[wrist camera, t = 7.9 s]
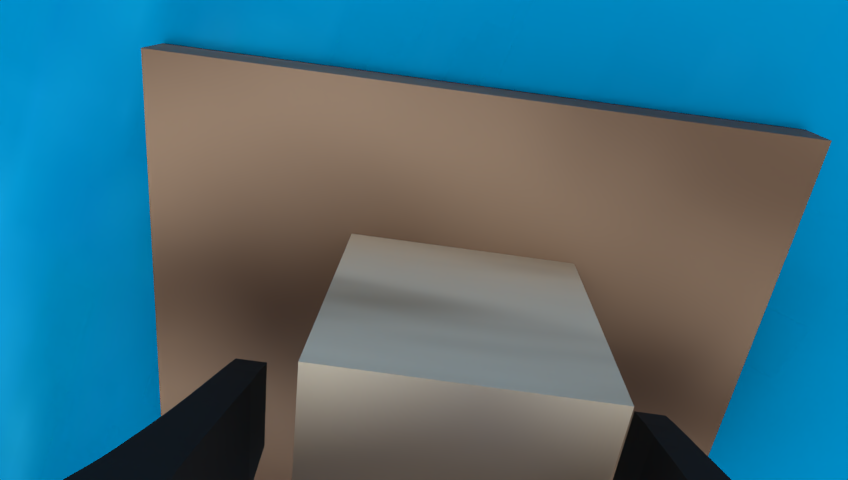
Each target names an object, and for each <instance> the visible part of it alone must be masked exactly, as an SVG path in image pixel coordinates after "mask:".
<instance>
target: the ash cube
mask: <svg viewBox="0 0 848 480" xmlns="http://www.w3.org/2000/svg"><path fill="white" fill-rule="evenodd" d="M633 409H634V405H633V402H632V400H631V398H630V395H629V393H628V391H627V388H626V386H625V383H624V381H623V379H622V376H621V374H620V371H619V369H618V367H617V364H616V362H615V360H614V357H613V355H612V352H611V350H610V348H609V345H608V343H607V341H606V338H605V336H604V333H603V331H602V329H601V326H600V324H599V322H598V319H597V317H596V314H595V312H594V310H593V307H592V305H591V302H590V300H589V298H588V295H587V293H586V291H585V288H584V286H583V283H582V281H581V279H580V276H579V274H578V272H577V269H576V267H575V264H573V263H566V262H558V261H551V260H543V259H536V258H528V257H521V256H514V255H506V254H499V253H491V252H484V251H476V250H469V249H462V248H454V247H447V246H439V245H432V244H424V243H417V242H410V241H402V240H395V239H387V238H380V237H373V236H365V235H358V234H351V237H350V239H349V241H348V244H347V246H346V248H345V251H344V253H343V256H342V258H341V260H340V263H339V265H338V268H337V270H336V272H335V275H334V277H333V280H332V282H331V284H330V287H329V289H328V292H327V294H326V296H325V299H324V301H323V304H322V306H321V308H320V311H319V313H318V316H317V318H316V320H315V323H314V325H313V328H312V330H311V332H310V335H309V337H308V340H307V342H306V344H305V347H304V349H303V352H302V354H301V356H300V359H299V361H298V377H297V395H296V414H295V433H294V452H293V470H292V480H611V478H612V475H613V471H614V468H615V465H616V462H617V459H618V456H619V453H620V450H621V446H622V443H623V440H624V437H625V434H626V431H627V428H628V425H629V421H630V418H631V415H632V412H633Z"/></svg>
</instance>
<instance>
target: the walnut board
mask: <svg viewBox="0 0 848 480" xmlns="http://www.w3.org/2000/svg"><path fill="white" fill-rule="evenodd" d="M141 53H142V72H143V90H144V109H145V127H146V145H147V164H148V182H149V200H150V219H151V237H152V255H153V274H154V292H155V310H156V329H157V347H158V366H159V384H160V402H161V416H162V415H164V414H165V413H166V412H168V411H169V410H170V409H172V408H173V407H174V406H176V405H177V404H178V403H180V402H181V401H182V400H184V399H185V398H186V397H187V396H189V395H190V394H191V393H192V392H194V391H195V390H196V389H197V388H199V387H200V386H201V385H203V384H204V383H205V382H206V381H207V380H209V379H210V378H211V377H212V376H214V375H215V374H216V373H217V372H219V371H220V370H221V369H222V368H224V367H225V366H226V365H228V364H229V363H230V362H232V361H233V360H234V359H236V358H237V359H244V360H252V361H259V362H267V376H266V412H265V446H264V449H263V452H262V455H261V458H260V461H259V465H258V468H257V471H256V474H255V477H254V480H292V470H293V452H294V433H295V414H296V395H297V377H298V361H299V359H300V356H301V354H302V352H303V349H304V347H305V344H306V342H307V340H308V337H309V335H310V332H311V330H312V328H313V325H314V323H315V320H316V318H317V316H318V313H319V311H320V308H321V306H322V304H323V301H324V299H325V296H326V294H327V292H328V289H329V287H330V284H331V282H332V280H333V277H334V275H335V272H336V270H337V268H338V265H339V263H340V260H341V258H342V256H343V253H344V251H345V248H346V246H347V244H348V241H349V239H350V237H351V234H358V235H365V236H373V237H380V238H387V239H395V240H402V241H410V242H417V243H424V244H432V245H439V246H447V247H454V248H462V249H469V250H476V251H484V252H491V253H499V254H506V255H514V256H521V257H528V258H536V259H543V260H551V261H558V262H566V263H573V264H575V267H576V269H577V272H578V274H579V276H580V279H581V281H582V283H583V286H584V288H585V291H586V293H587V295H588V298H589V300H590V302H591V305H592V307H593V310H594V312H595V314H596V317H597V319H598V322H599V324H600V326H601V329H602V331H603V333H604V336H605V338H606V341H607V343H608V345H609V348H610V350H611V352H612V355H613V357H614V360H615V362H616V364H617V367H618V369H619V371H620V374H621V376H622V379H623V381H624V383H625V386H626V388H627V391H628V393H629V395H630V398H631V400H632V402H633V405H634V409H633V412H632V415H631V418H630V421H629V425H628V428H627V431H626V434H625V437H624V440H623V443H622V446H621V450H620V453H619V456H618V459H617V462H616V465H615V468H614V471H613V475H612V478H611V480H613V477H614V474H615V471H616V468H617V464H618V461H619V458H620V455H621V452H622V449H623V446H624V443H625V439H626V436H627V433H628V430H629V427H630V424H631V421H632V418H633V414H634V411H636V412H643V413H651V414H658V415H666V416H667V417H668V418H669V419H670V420H671V421H672V422H673V423H675V424H676V425H677V426H678V427H679V428H680V429H681V430H682V431H683V432H684V433H685V434H686V435H687V436H688V437H689V438H690V439H691V440H692V441H693V442H694V443H695V444H696V445H697V446H698V447H699V448H700V449H701V450H702V451H703V452H704V453H705V454H706V455H707V456H708V455H709V452H710V450H711V447H712V445H713V442H714V439H715V437H716V434H717V432H718V429H719V427H720V424H721V422H722V419H723V416H724V414H725V411H726V409H727V406H728V404H729V401H730V399H731V396H732V393H733V391H734V388H735V386H736V383H737V381H738V378H739V376H740V373H741V371H742V368H743V365H744V363H745V360H746V358H747V355H748V353H749V350H750V348H751V345H752V342H753V340H754V337H755V335H756V332H757V330H758V327H759V325H760V322H761V320H762V317H763V314H764V312H765V309H766V307H767V304H768V302H769V299H770V297H771V294H772V291H773V289H774V286H775V284H776V281H777V279H778V276H779V274H780V271H781V268H782V266H783V263H784V261H785V258H786V256H787V253H788V251H789V248H790V246H791V243H792V240H793V238H794V235H795V233H796V230H797V228H798V225H799V223H800V220H801V217H802V215H803V212H804V210H805V207H806V205H807V202H808V200H809V197H810V195H811V192H812V189H813V187H814V184H815V182H816V179H817V177H818V174H819V172H820V169H821V166H822V164H823V161H824V159H825V156H826V154H827V151H828V149H829V146H830V143H831V141H830V140H828V139H826V138H823V137H821V136H819V135H816V134H814V133H811V132H809V131H807V130H802V129H795V128H787V127H780V126H772V125H765V124H757V123H750V122H743V121H735V120H728V119H720V118H713V117H705V116H698V115H691V114H683V113H676V112H668V111H661V110H653V109H646V108H639V107H631V106H624V105H616V104H609V103H601V102H594V101H587V100H579V99H572V98H564V97H557V96H549V95H542V94H535V93H527V92H520V91H512V90H505V89H497V88H490V87H483V86H475V85H468V84H460V83H453V82H445V81H438V80H431V79H423V78H416V77H408V76H401V75H393V74H386V73H379V72H371V71H364V70H356V69H349V68H341V67H334V66H327V65H319V64H312V63H304V62H297V61H289V60H282V59H275V58H267V57H260V56H252V55H245V54H237V53H230V52H223V51H215V50H208V49H200V48H193V47H186V46H178V45H171V44H158V45H153V46H149V47H144V48H141Z"/></svg>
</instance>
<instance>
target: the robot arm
mask: <svg viewBox="0 0 848 480" xmlns="http://www.w3.org/2000/svg"><path fill="white" fill-rule="evenodd" d="M266 376H267V362H259V361H252V360H244V359H237V358H236V359H234V360H233V361H232V362H230V363H229V364H228V365H226V366H225V367H224V368H222V369H221V370H220V371H219V372H217V373H216V374H215V375H214V376H212V377H211V378H210V379H209V380H207V381H206V382H205V383H204V384H203V385H201V386H200V387H199V388H197V389H196V390H195V391H194V392H192V393H191V394H190V395H189V396H187V397H186V398H185V399H184V400H182V401H181V402H180V403H178V404H177V405H176V406H174V407H173V408H172V409H170V410H169V411H168V412H166V413H165V414H164V415H162V416H161V417H160V418H158V419H157V420H156V421H154V422H153V423H152V424H150V425H149V426H147V427H146V428H144V429H143V430H141V431H140V432H139V433H137V434H136V435H134V436H133V437H131V438H130V439H128V440H127V441H125V442H124V443H122V444H121V445H120V446H118V447H117V448H115V449H114V450H112V451H111V452H109V453H108V454H106V455H104V456H103V457H101V458H99V459H98V460H96V461H95V462H93V463H91V464H90V465H88V466H86V467H84V468H83V469H81V470H79V471H77V472H76V473H74V474H72V475H70V476H69V477H67V478H65V479H63V480H254V477H255V474H256V471H257V468H258V465H259V461H260V458H261V455H262V452H263V449H264V446H265V412H266ZM613 480H731V479H730V478H729V477H728V476H727V475H726V474H725V473H724V472H723V471H722V470H721V469H720V468H719V467H718V466H717V465H716V464H715V463H714V462H713V461H712V460H711V459H710V458H709V457H708V456H707V455H706V454H705V453H704V452H703V451H702V450H701V449H700V448H699V447H698V446H697V445H696V444H695V443H694V442H693V441H692V440H691V439H690V438H689V437H688V436H687V435H686V434H685V433H684V432H683V431H682V430H681V429H680V428H679V427H678V426H677V425H676V424H675V423H673V422H672V421H671V420H670V419H669V418H668V417H667V416H666V415H658V414H651V413H643V412H636V411H634V414H633V418H632V421H631V424H630V427H629V430H628V433H627V436H626V439H625V443H624V446H623V449H622V452H621V455H620V458H619V461H618V464H617V468H616V471H615V474H614V477H613Z"/></svg>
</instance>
